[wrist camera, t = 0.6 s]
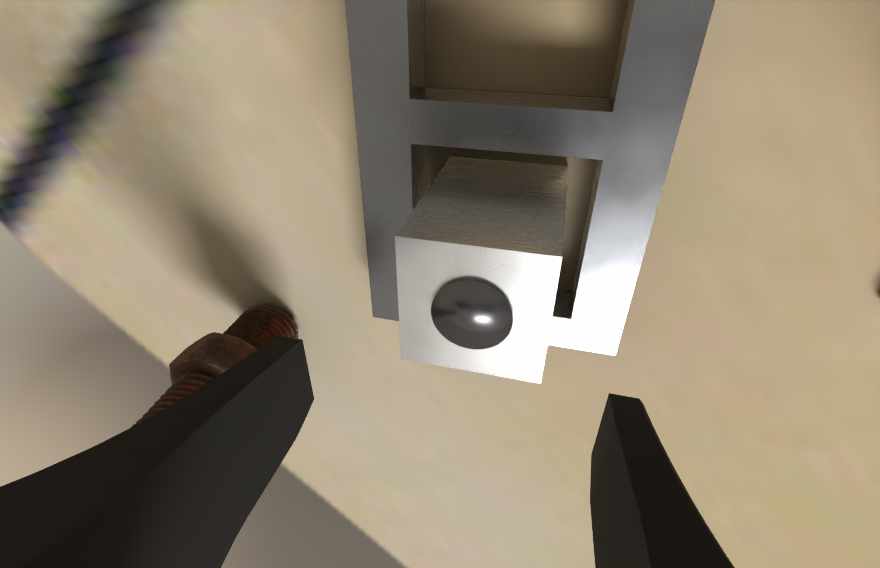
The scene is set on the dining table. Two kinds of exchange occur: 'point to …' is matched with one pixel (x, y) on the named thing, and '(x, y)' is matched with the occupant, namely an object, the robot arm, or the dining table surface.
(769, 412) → the dining table surface
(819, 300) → the dining table surface
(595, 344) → the frame with rectangular openings
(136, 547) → the robot arm
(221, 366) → the bolt
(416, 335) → the grey rectangular block
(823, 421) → the dining table surface
